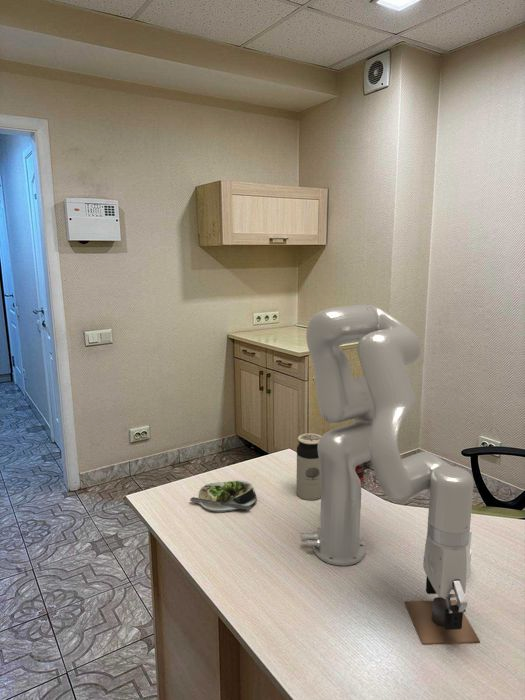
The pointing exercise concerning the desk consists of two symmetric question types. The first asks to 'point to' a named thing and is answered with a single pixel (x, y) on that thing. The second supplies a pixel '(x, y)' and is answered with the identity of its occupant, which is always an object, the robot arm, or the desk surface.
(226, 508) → the salad plate
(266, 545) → the desk surface
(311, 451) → the travel mug
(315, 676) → the desk surface
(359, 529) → the robot arm
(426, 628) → the lid
